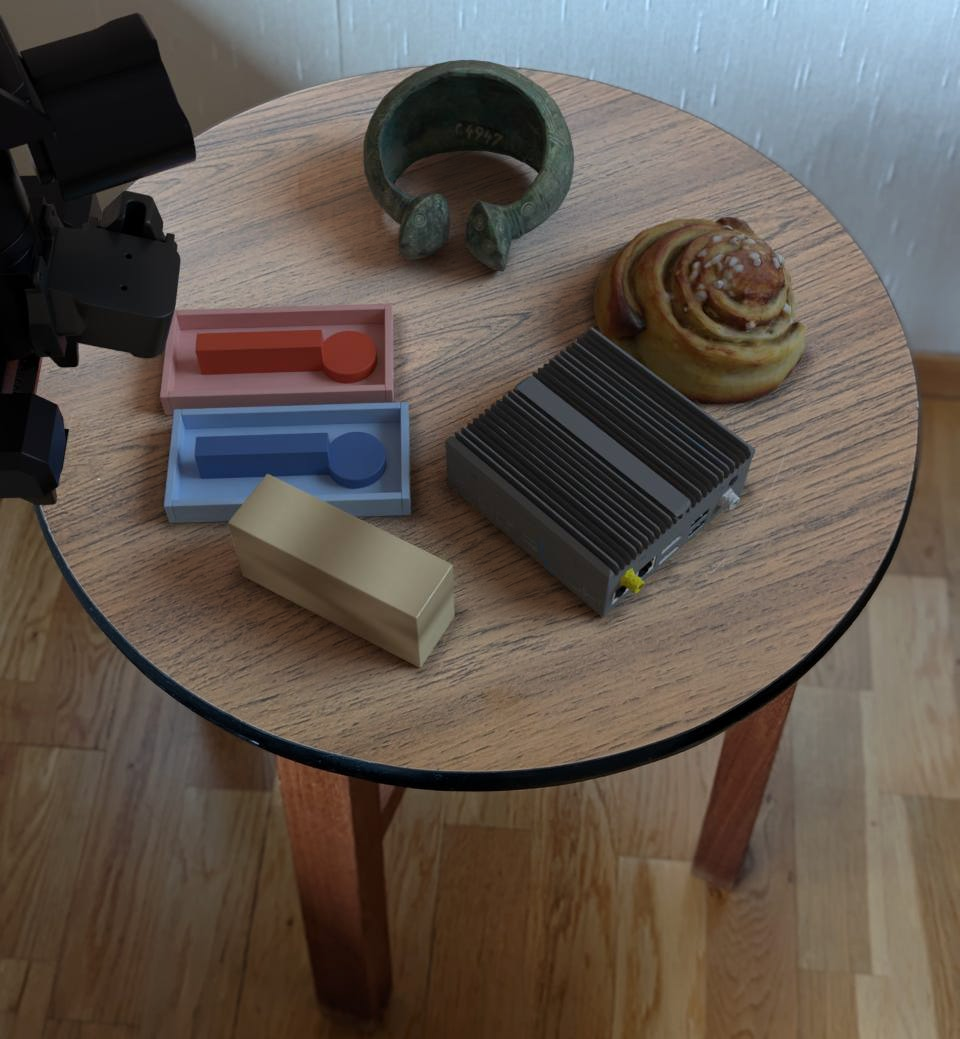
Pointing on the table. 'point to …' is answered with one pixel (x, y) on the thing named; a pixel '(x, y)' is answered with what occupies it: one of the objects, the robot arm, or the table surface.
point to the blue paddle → (293, 456)
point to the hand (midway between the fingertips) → (58, 431)
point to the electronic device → (597, 469)
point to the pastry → (703, 309)
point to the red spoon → (288, 353)
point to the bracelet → (467, 127)
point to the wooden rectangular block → (344, 569)
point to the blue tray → (226, 495)
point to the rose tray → (276, 388)
